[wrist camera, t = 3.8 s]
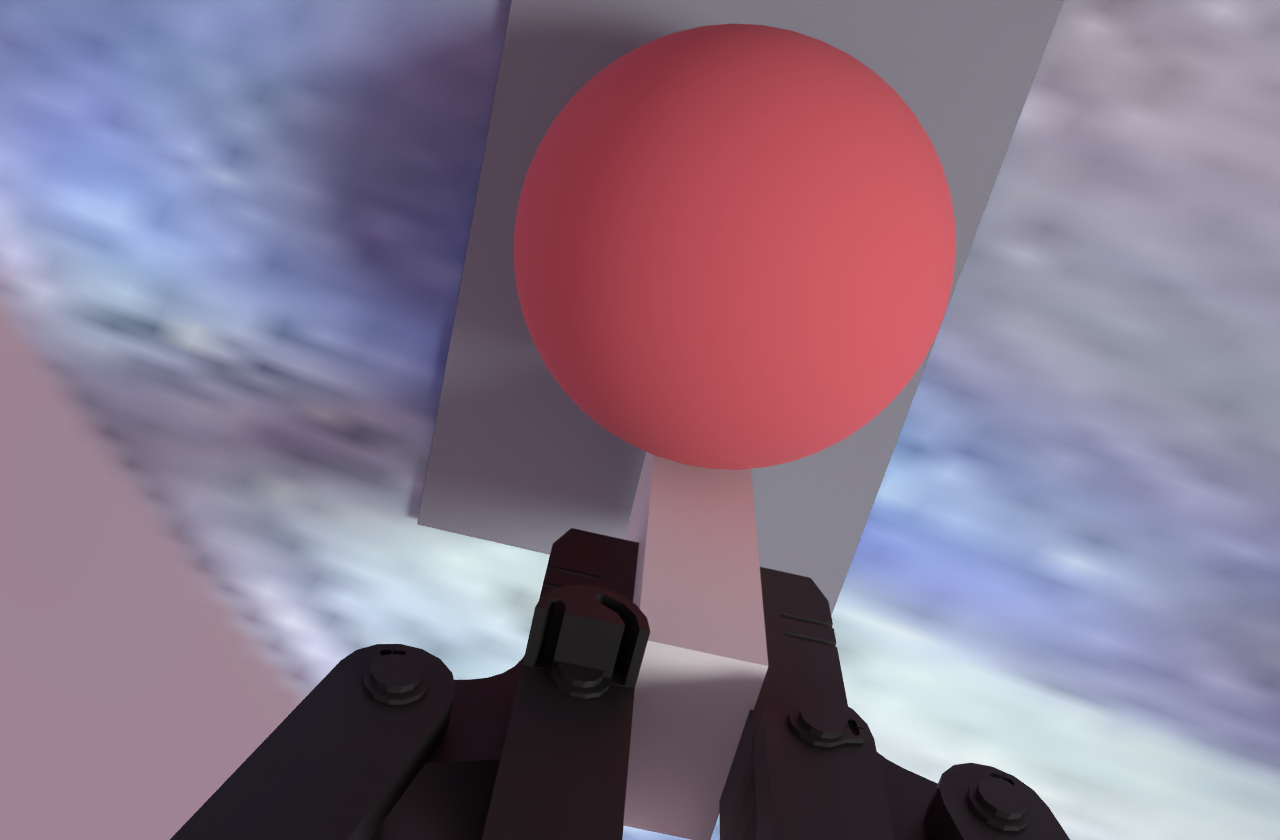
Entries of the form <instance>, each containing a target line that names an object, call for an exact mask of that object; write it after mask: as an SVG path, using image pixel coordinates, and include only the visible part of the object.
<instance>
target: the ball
mask: <svg viewBox="0 0 1280 840" xmlns="http://www.w3.org/2000/svg"><path fill="white" fill-rule="evenodd" d="M955 256H956V235H955V218H954V212H953V206H952V200H951V194H950V190H949V187H948V184H947V180H946V177H945V174H944V170H943V167H942V164H941V162H940V160H939V158H938V155H937V153H936V151H935V149H934V147H933V144H932V142H931V140H930V138H929V136H928V135H927V133H926V131H925V130H924V128H923V127H922V125H921V124H920V122H919V120H918V119H917V117H916V116H915V114H914V113H913V111H912V110H911V109H910V108H909V107H908V105H907V104H906V103H905V102H904V101H903V99H902V98H901V97H900V96H899V95H898V94H897V92H896V91H895V90H894V89H893V88H892V87H891V86H889V85H888V84H887V83H886V82H885V81H884V80H883V79H882V78H881V77H880V76H878V75H877V74H876V73H875V72H874V71H873V70H871V69H870V68H868V67H867V66H866V65H864V64H863V63H861V62H860V61H858V60H857V59H855V58H854V57H852V56H851V55H849V54H848V53H846V52H844V51H842V50H840V49H838V48H836V47H834V46H832V45H830V44H828V43H826V42H824V41H821V40H818V39H815V38H812V37H810V36H807V35H804V34H801V33H798V32H795V31H792V30H787V29H781V28H776V27H771V26H765V25H754V24H733V23H732V24H721V25H710V26H701V27H697V28H692V29H688V30H684V31H679V32H675V33H672V34H669V35H666V36H664V37H661V38H658V39H656V40H653V41H650V42H648V43H645V44H643V45H642V46H640V47H638V48H636V49H634V50H632V51H630V52H629V53H627V54H625V55H623V56H621V57H619V58H618V59H617V60H615V61H614V62H612V63H611V64H610V65H608V66H607V67H606V68H604V69H603V70H601V71H600V72H599V73H597V74H596V75H595V76H594V77H593V78H591V79H590V80H589V81H588V82H587V83H586V84H585V85H584V86H583V87H582V88H581V89H580V90H579V91H578V92H577V93H576V94H575V95H574V96H573V97H572V98H571V99H570V101H569V102H568V103H567V104H566V106H565V107H564V108H563V109H562V111H561V112H560V113H559V114H558V116H557V117H556V118H555V119H554V121H553V122H552V124H551V126H550V127H549V129H548V131H547V132H546V134H545V136H544V137H543V139H542V141H541V142H540V144H539V146H538V148H537V150H536V153H535V155H534V157H533V160H532V162H531V164H530V166H529V169H528V171H527V174H526V177H525V181H524V184H523V187H522V191H521V194H520V198H519V202H518V208H517V214H516V221H515V227H514V257H513V259H514V269H515V278H516V288H517V292H518V296H519V300H520V304H521V309H522V313H523V317H524V319H525V322H526V324H527V327H528V330H529V332H530V335H531V337H532V340H533V343H534V344H535V346H536V348H537V350H538V352H539V354H540V356H541V357H542V359H543V361H544V363H545V365H546V367H547V368H548V370H549V371H550V373H551V374H552V375H553V377H554V378H555V379H556V381H557V382H558V384H559V385H560V386H561V388H562V389H563V391H564V392H565V393H566V394H567V395H568V396H569V397H570V398H571V399H572V400H573V401H574V402H575V403H576V404H577V405H578V406H579V408H580V409H581V410H582V411H583V412H585V413H586V414H587V415H588V416H589V417H591V418H592V419H593V420H594V421H596V422H597V423H598V424H599V425H600V426H602V427H603V428H604V429H606V430H607V431H609V432H610V433H612V434H614V435H615V436H617V437H618V438H620V439H622V440H623V441H625V442H626V443H628V444H630V445H633V446H635V447H637V448H639V449H641V450H644V451H646V452H648V453H650V454H652V455H655V456H658V457H661V458H665V459H668V460H671V461H674V462H678V463H681V464H686V465H691V466H697V467H703V468H709V469H731V470H741V469H752V468H764V467H769V466H774V465H778V464H783V463H788V462H792V461H795V460H798V459H801V458H804V457H806V456H809V455H812V454H815V453H818V452H820V451H822V450H824V449H826V448H828V447H830V446H832V445H834V444H836V443H838V442H840V441H842V440H844V439H845V438H847V437H848V436H850V435H851V434H853V433H854V432H856V431H857V430H859V429H860V428H862V427H863V426H865V425H866V424H868V423H869V422H870V421H871V420H872V419H873V418H874V417H876V416H877V415H878V414H879V413H880V412H881V411H882V410H884V409H885V408H886V407H887V406H888V405H889V404H890V403H891V402H892V401H893V400H894V399H895V397H896V396H897V395H898V394H899V393H900V392H901V391H902V390H903V388H904V387H905V386H906V385H907V384H908V383H909V381H910V380H911V378H912V377H913V375H914V374H915V372H916V371H917V369H918V368H919V367H920V365H921V364H922V362H923V361H924V359H925V357H926V355H927V353H928V351H929V349H930V347H931V345H932V343H933V341H934V340H935V338H936V336H937V333H938V331H939V328H940V325H941V322H942V320H943V317H944V314H945V311H946V309H947V305H948V300H949V296H950V292H951V287H952V283H953V277H954V266H955Z"/></svg>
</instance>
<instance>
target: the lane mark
mask: <svg viewBox="0 0 1280 840" xmlns="http://www.w3.org/2000/svg"><path fill="white" fill-rule="evenodd" d="M1062 3H1063V0H512V1H511V7H510V12H509V18H508V23H507V29H506V34H505V40H504V46H503V51H502V57H501V62H500V68H499V73H498V79H497V84H496V90H495V95H494V101H493V107H492V112H491V118H490V123H489V129H488V134H487V140H486V145H485V151H484V157H483V162H482V168H481V173H480V179H479V184H478V190H477V195H476V201H475V206H474V212H473V218H472V223H471V229H470V234H469V240H468V245H467V251H466V256H465V262H464V267H463V273H462V279H461V284H460V290H459V295H458V301H457V306H456V312H455V317H454V323H453V329H452V334H451V340H450V345H449V351H448V356H447V362H446V367H445V373H444V378H443V384H442V390H441V395H440V401H439V406H438V412H437V417H436V423H435V428H434V434H433V440H432V445H431V451H430V456H429V462H428V467H427V473H426V478H425V484H424V489H423V495H422V501H421V506H420V512H419V517H418V523H417V524H419V525H423V526H428V527H432V528H436V529H441V530H445V531H449V532H454V533H458V534H463V535H467V536H471V537H476V538H480V539H484V540H489V541H493V542H497V543H502V544H506V545H510V546H515V547H519V548H524V549H528V550H532V551H537V552H541V553H545V554H550V553H551V549H552V545H553V543H554V542H555V541H556V540H558V539H559V538H560V537H561V536H562V535H564V534H565V533H566V532H567V531H568V530H570V529H571V528H574V529H579V530H583V531H588V532H592V533H597V534H602V535H606V536H611V537H615V538H620V539H625V535H626V531H627V527H628V523H629V519H630V515H631V511H632V507H633V503H634V499H635V495H636V491H637V487H638V483H639V479H640V475H641V471H642V467H643V463H644V459H645V455H646V451H644V450H641V449H639V448H637V447H635V446H633V445H630V444H628V443H626V442H625V441H623V440H622V439H620V438H618V437H617V436H615V435H614V434H612V433H610V432H609V431H607V430H606V429H604V428H603V427H602V426H600V425H599V424H598V423H597V422H596V421H594V420H593V419H592V418H591V417H589V416H588V415H587V414H586V413H585V412H583V411H582V410H581V409H580V408H579V406H578V405H577V404H576V403H575V402H574V401H573V400H572V399H571V398H570V397H569V396H568V395H567V394H566V393H565V392H564V391H563V389H562V388H561V386H560V385H559V384H558V382H557V381H556V379H555V378H554V377H553V375H552V374H551V373H550V371H549V370H548V368H547V367H546V365H545V363H544V361H543V359H542V357H541V356H540V354H539V352H538V350H537V348H536V346H535V344H534V343H533V340H532V337H531V335H530V332H529V330H528V327H527V324H526V322H525V319H524V317H523V313H522V309H521V304H520V300H519V296H518V292H517V288H516V278H515V269H514V259H513V257H514V227H515V221H516V214H517V208H518V202H519V198H520V194H521V191H522V187H523V184H524V181H525V177H526V174H527V171H528V169H529V166H530V164H531V162H532V160H533V157H534V155H535V153H536V150H537V148H538V146H539V144H540V142H541V141H542V139H543V137H544V136H545V134H546V132H547V131H548V129H549V127H550V126H551V124H552V122H553V121H554V119H555V118H556V117H557V116H558V114H559V113H560V112H561V111H562V109H563V108H564V107H565V106H566V104H567V103H568V102H569V101H570V99H571V98H572V97H573V96H574V95H575V94H576V93H577V92H578V91H579V90H580V89H581V88H582V87H583V86H584V85H585V84H586V83H587V82H588V81H589V80H590V79H591V78H593V77H594V76H595V75H596V74H597V73H599V72H600V71H601V70H603V69H604V68H606V67H607V66H608V65H610V64H611V63H612V62H614V61H615V60H617V59H618V58H619V57H621V56H623V55H625V54H627V53H629V52H630V51H632V50H634V49H636V48H638V47H640V46H642V45H643V44H645V43H648V42H650V41H653V40H656V39H658V38H661V37H664V36H666V35H669V34H672V33H675V32H679V31H684V30H688V29H692V28H697V27H701V26H710V25H721V24H732V23H733V24H754V25H765V26H771V27H776V28H781V29H787V30H792V31H795V32H798V33H801V34H804V35H807V36H810V37H812V38H815V39H818V40H821V41H824V42H826V43H828V44H830V45H832V46H834V47H836V48H838V49H840V50H842V51H844V52H846V53H848V54H849V55H851V56H852V57H854V58H855V59H857V60H858V61H860V62H861V63H863V64H864V65H866V66H867V67H868V68H870V69H871V70H873V71H874V72H875V73H876V74H877V75H878V76H880V77H881V78H882V79H883V80H884V81H885V82H886V83H887V84H888V85H889V86H891V87H892V88H893V89H894V90H895V91H896V92H897V94H898V95H899V96H900V97H901V98H902V99H903V101H904V102H905V103H906V104H907V105H908V107H909V108H910V109H911V110H912V111H913V113H914V114H915V116H916V117H917V119H918V120H919V122H920V124H921V125H922V127H923V128H924V130H925V131H926V133H927V135H928V136H929V138H930V140H931V142H932V144H933V147H934V149H935V151H936V153H937V155H938V158H939V160H940V162H941V164H942V167H943V170H944V174H945V177H946V180H947V184H948V187H949V190H950V194H951V200H952V206H953V212H954V218H955V235H956V256H955V266H954V277H953V283H952V287H951V292H950V296H949V300H948V305H949V302H950V300H951V297H952V294H953V292H954V289H955V286H956V284H957V281H958V278H959V276H960V273H961V270H962V268H963V265H964V262H965V260H966V257H967V254H968V252H969V249H970V247H971V244H972V241H973V239H974V236H975V233H976V231H977V228H978V225H979V223H980V220H981V217H982V215H983V212H984V209H985V207H986V204H987V201H988V199H989V196H990V194H991V191H992V188H993V186H994V183H995V180H996V178H997V175H998V172H999V170H1000V167H1001V164H1002V162H1003V159H1004V156H1005V154H1006V151H1007V148H1008V146H1009V143H1010V141H1011V138H1012V135H1013V133H1014V130H1015V127H1016V125H1017V122H1018V119H1019V117H1020V114H1021V111H1022V109H1023V106H1024V103H1025V101H1026V98H1027V95H1028V93H1029V90H1030V88H1031V85H1032V82H1033V80H1034V77H1035V74H1036V72H1037V69H1038V66H1039V64H1040V61H1041V58H1042V56H1043V53H1044V50H1045V48H1046V45H1047V43H1048V40H1049V37H1050V35H1051V32H1052V29H1053V27H1054V24H1055V21H1056V19H1057V16H1058V13H1059V11H1060V8H1061V5H1062ZM948 305H947V307H948ZM946 310H947V309H946ZM945 313H946V311H945ZM944 315H945V314H944ZM943 318H944V317H943ZM942 321H943V320H942ZM941 323H942V322H941ZM940 326H941V325H940ZM939 329H940V328H939ZM937 334H938V333H937ZM936 337H937V336H936ZM935 339H936V338H935ZM934 342H935V340H934V341H933V343H932V345H931V347H930V349H929V351H928V353H927V355H926V357H925V359H924V361H923V362H922V364H921V365H920V367H919V368H918V369H917V371H916V372H915V374H914V375H913V377H912V378H911V380H910V381H909V383H908V384H907V385H906V386H905V387H904V388H903V390H902V391H901V392H900V393H899V394H898V395H897V396H896V397H895V399H894V400H893V401H892V402H891V403H890V404H889V405H888V406H887V407H886V408H885V409H884V410H882V411H881V412H880V413H879V414H878V415H877V416H876V417H874V418H873V419H872V420H871V421H870V422H869V423H868V424H866V425H865V426H863V427H862V428H860V429H859V430H857V431H856V432H854V433H853V434H851V435H850V436H848V437H847V438H845V439H844V440H842V441H840V442H838V443H836V444H834V445H832V446H830V447H828V448H826V449H824V450H822V451H820V452H818V453H815V454H812V455H809V456H806V457H804V458H801V459H798V460H795V461H792V462H788V463H783V464H778V465H774V466H769V467H764V468H752V469H751V475H752V487H753V498H754V509H755V520H756V532H757V543H758V554H759V566H760V567H764V568H769V569H773V570H778V571H782V572H787V573H791V574H796V575H801V576H805V577H810V578H811V579H812V580H813V581H814V583H815V584H816V585H817V587H818V588H819V589H820V591H821V592H822V593H823V595H824V596H825V597H826V598H827V600H828V601H829V607H830V612H831V615H832V612H833V609H834V607H835V604H836V602H837V599H838V596H839V594H840V591H841V588H842V586H843V583H844V580H845V578H846V575H847V572H848V570H849V567H850V564H851V562H852V559H853V556H854V554H855V551H856V549H857V546H858V543H859V541H860V538H861V535H862V533H863V530H864V527H865V525H866V522H867V519H868V517H869V514H870V511H871V509H872V506H873V504H874V501H875V498H876V496H877V493H878V490H879V488H880V485H881V482H882V480H883V477H884V474H885V472H886V469H887V466H888V464H889V461H890V458H891V456H892V453H893V451H894V448H895V445H896V443H897V440H898V437H899V435H900V432H901V429H902V427H903V424H904V421H905V419H906V416H907V413H908V411H909V408H910V405H911V403H912V400H913V398H914V395H915V392H916V390H917V387H918V384H919V382H920V379H921V376H922V374H923V371H924V368H925V366H926V363H927V360H928V358H929V355H930V352H931V350H932V347H933V345H934Z"/></svg>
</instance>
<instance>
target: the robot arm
mask: <svg viewBox="0 0 1280 840" xmlns="http://www.w3.org/2000/svg"><path fill="white" fill-rule="evenodd" d="M832 625H833V623H832V618H831V612H830V607H829V601H828V600H827V598H826V597H825V596H824V595H823V593H822V592H821V591H820V589H819V588H818V587H817V585H816V584H815V583H814V581H813V580H812V579H811V578H810V577H805V576H801V575H796V574H791V573H787V572H782V571H778V570H773V569H769V568H764V567H760V566H759V554H758V543H757V532H756V520H755V509H754V498H753V487H752V475H751V469H741V470H731V469H709V468H703V467H697V466H691V465H686V464H681V463H678V462H674V461H671V460H668V459H665V458H661V457H658V456H655V455H652V454H650V453H648V452H646V455H645V459H644V463H643V467H642V471H641V475H640V479H639V483H638V487H637V491H636V495H635V499H634V503H633V507H632V511H631V515H630V519H629V523H628V527H627V531H626V535H625V539H620V538H615V537H611V536H606V535H602V534H597V533H592V532H588V531H583V530H579V529H574V528H571V529H570V530H568V531H567V532H566V533H565V534H564V535H562V536H561V537H560V538H559V539H558V540H556V541H555V542H554V543H553V545H552V549H551V553H550V557H549V562H548V566H547V570H546V574H545V578H544V582H543V587H542V591H541V595H540V599H539V602H538V604H537V605H536V607H535V611H534V616H533V621H532V625H531V630H530V634H529V639H528V644H527V648H526V653H525V655H524V657H523V659H522V660H521V661H520V662H519V663H518V664H517V665H516V666H515V667H513V668H511V669H509V670H508V671H506V672H504V673H502V674H499V675H495V676H492V677H489V678H482V679H472V680H454V679H453V675H452V672H451V671H450V670H449V669H448V668H447V666H446V665H445V664H444V663H443V662H442V661H441V659H439V658H437V657H435V656H433V655H432V654H430V653H428V652H426V651H424V650H423V649H419V648H415V647H411V646H406V645H402V644H377V645H373V646H369V647H366V648H362V649H359V650H356V651H354V652H353V653H351V654H350V655H349V656H347V657H346V658H344V659H343V660H341V661H340V662H339V663H338V664H337V665H336V666H335V667H334V668H333V669H332V670H331V672H330V673H329V674H328V675H327V676H326V677H325V678H324V679H323V680H322V681H321V682H320V683H319V684H318V685H317V686H316V687H315V688H314V689H313V690H312V691H311V692H310V694H309V695H308V696H307V697H306V698H305V699H304V700H303V701H302V702H301V703H300V704H299V705H298V706H297V707H296V708H295V709H294V710H293V711H292V712H291V713H290V714H289V715H288V717H287V718H286V719H285V720H284V721H283V722H282V723H281V724H280V725H279V726H278V727H277V728H276V729H275V730H274V731H273V732H272V733H271V734H270V735H269V737H268V738H267V739H266V740H265V741H264V742H263V743H262V744H261V745H260V746H259V747H258V748H257V749H256V750H255V751H254V752H253V753H252V754H251V755H250V756H249V757H248V758H247V759H246V761H245V762H244V763H243V764H242V765H241V766H240V767H239V768H238V769H237V770H236V771H235V772H234V773H233V774H232V775H231V776H230V777H229V778H228V779H227V780H226V781H225V783H224V784H223V785H222V786H221V787H220V788H219V789H218V790H217V791H216V792H215V793H214V794H213V795H212V796H211V797H210V798H209V799H208V800H207V801H206V802H205V803H204V804H203V806H202V807H201V808H200V809H199V810H198V811H197V812H196V813H195V814H194V815H193V816H192V817H191V818H190V819H189V820H188V821H187V822H186V823H185V824H184V825H183V827H182V828H181V829H180V830H179V831H178V832H177V833H176V834H175V835H174V836H173V837H172V838H171V839H170V840H622V835H623V825H624V826H629V827H634V828H639V829H644V830H648V831H653V832H658V833H663V834H668V835H673V836H677V837H682V838H687V839H692V840H710V839H711V836H712V833H713V830H714V827H715V824H716V821H717V818H718V815H719V812H720V840H1070V839H1069V837H1068V836H1067V834H1066V833H1065V831H1064V830H1063V828H1062V827H1061V825H1060V824H1059V822H1058V821H1057V819H1056V818H1055V816H1054V815H1053V813H1052V812H1051V810H1050V809H1049V807H1048V806H1047V805H1046V804H1045V803H1044V802H1043V800H1042V799H1041V798H1040V797H1039V796H1038V795H1037V794H1036V792H1035V791H1034V790H1032V789H1031V788H1030V787H1028V786H1027V785H1025V784H1024V783H1023V782H1021V781H1020V780H1018V779H1017V778H1016V777H1014V776H1012V775H1010V774H1007V773H1005V772H1003V771H1001V770H998V769H996V768H994V767H991V766H985V765H980V764H975V763H966V764H959V765H953V766H952V767H951V768H949V769H948V770H947V771H945V772H944V773H943V774H942V776H941V778H940V780H939V783H938V784H937V783H935V782H933V781H930V780H928V779H926V778H924V777H922V776H919V775H917V774H915V773H913V772H910V771H908V770H906V769H904V768H902V767H900V766H898V765H896V764H894V763H893V762H891V761H889V760H887V759H886V758H884V757H883V756H882V755H880V754H879V753H878V752H877V751H876V746H875V741H874V738H873V736H872V734H871V732H870V729H869V727H868V725H867V723H866V722H865V721H864V720H863V719H862V718H861V717H860V716H859V715H858V714H857V713H856V712H855V711H854V710H853V709H851V708H850V707H848V704H847V699H846V693H845V688H844V683H843V677H842V672H841V666H840V661H839V656H838V650H837V647H835V645H836V639H835V634H834V628H832Z"/></svg>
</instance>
